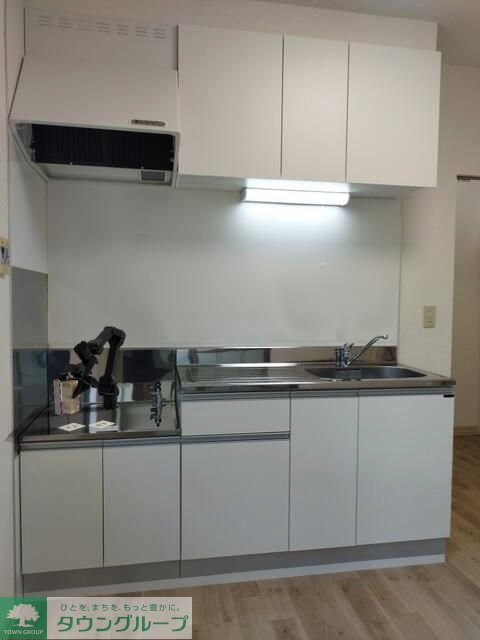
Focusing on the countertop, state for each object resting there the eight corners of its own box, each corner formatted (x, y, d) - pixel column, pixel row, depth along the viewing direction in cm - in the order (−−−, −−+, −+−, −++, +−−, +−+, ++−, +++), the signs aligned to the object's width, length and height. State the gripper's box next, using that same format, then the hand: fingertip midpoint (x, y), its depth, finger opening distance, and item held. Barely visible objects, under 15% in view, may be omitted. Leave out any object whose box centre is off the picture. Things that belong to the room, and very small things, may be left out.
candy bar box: (74, 408, 218) (73, 375, 217) (81, 410, 215) (80, 376, 214) (54, 414, 209) (52, 379, 207) (61, 416, 206) (59, 380, 205)
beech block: (70, 409, 193) (69, 379, 192) (79, 410, 191) (78, 380, 190) (62, 412, 189) (61, 381, 187) (71, 413, 187) (70, 382, 186)
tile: (57, 428, 189) (57, 427, 189) (73, 423, 196) (73, 422, 196) (69, 431, 185) (69, 431, 185) (85, 426, 192) (85, 425, 192)
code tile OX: (87, 425, 192) (87, 425, 192) (102, 420, 199) (102, 420, 199) (100, 429, 188) (100, 428, 188) (115, 423, 195) (115, 423, 195)
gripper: (59, 354, 195) (39, 385, 186) (93, 357, 188) (75, 389, 179) (73, 369, 203) (55, 399, 194) (106, 372, 196) (89, 403, 187)
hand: (68, 397), depth 188 cm, fingers closed on beech block, 4 cm apart
